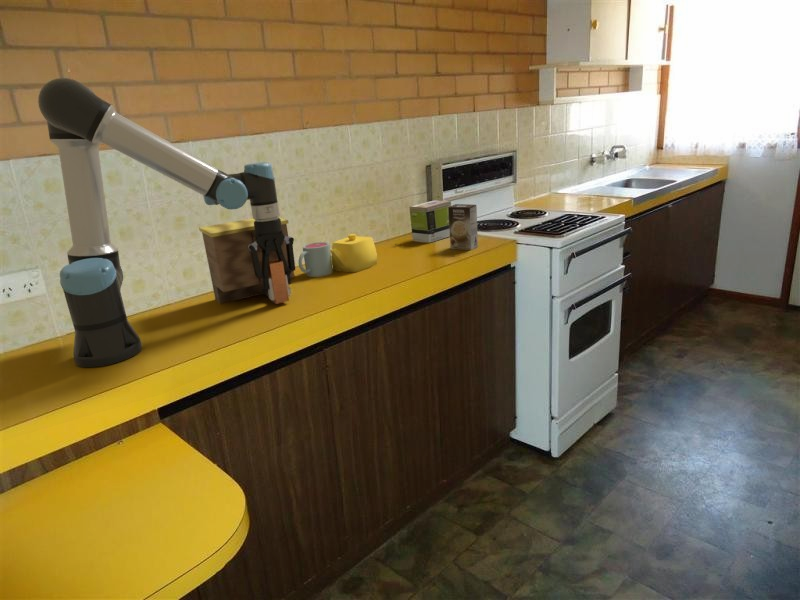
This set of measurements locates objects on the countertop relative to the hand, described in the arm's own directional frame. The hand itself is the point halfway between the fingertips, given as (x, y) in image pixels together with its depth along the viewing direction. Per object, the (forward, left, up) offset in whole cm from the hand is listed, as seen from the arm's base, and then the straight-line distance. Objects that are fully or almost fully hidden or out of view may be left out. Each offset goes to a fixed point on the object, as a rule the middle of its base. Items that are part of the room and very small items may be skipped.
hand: (279, 297), depth 169 cm
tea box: (+80, +37, -2) cm, 88 cm away
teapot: (+35, +21, -2) cm, 41 cm away
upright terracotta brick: (0, +5, -1) cm, 5 cm away
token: (+4, +10, -2) cm, 11 cm away
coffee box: (+78, +13, -2) cm, 79 cm away
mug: (+21, +23, -2) cm, 31 cm away
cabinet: (-3, +15, -2) cm, 15 cm away
